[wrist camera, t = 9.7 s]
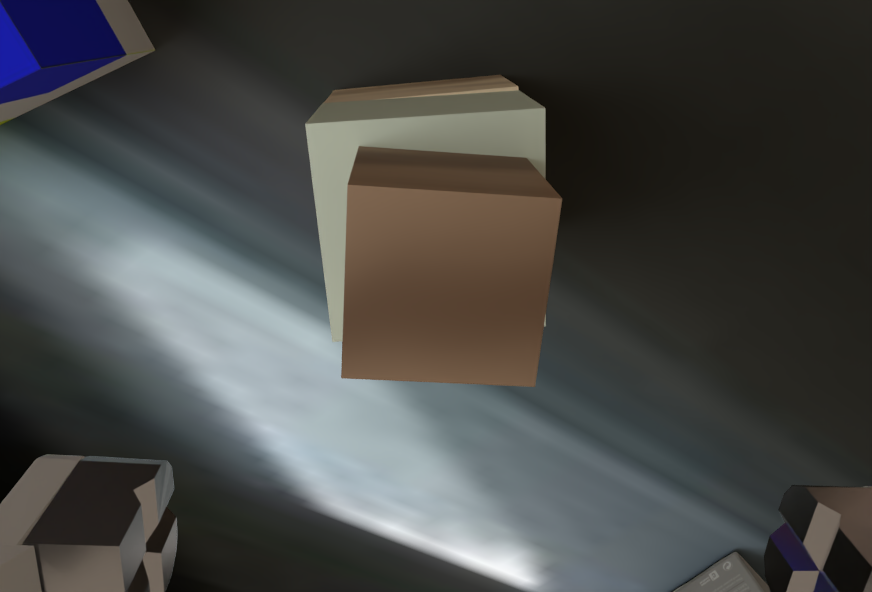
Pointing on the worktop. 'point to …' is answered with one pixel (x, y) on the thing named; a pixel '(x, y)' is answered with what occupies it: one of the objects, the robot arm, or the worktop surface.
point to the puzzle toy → (62, 48)
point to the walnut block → (446, 267)
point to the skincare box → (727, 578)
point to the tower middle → (413, 130)
